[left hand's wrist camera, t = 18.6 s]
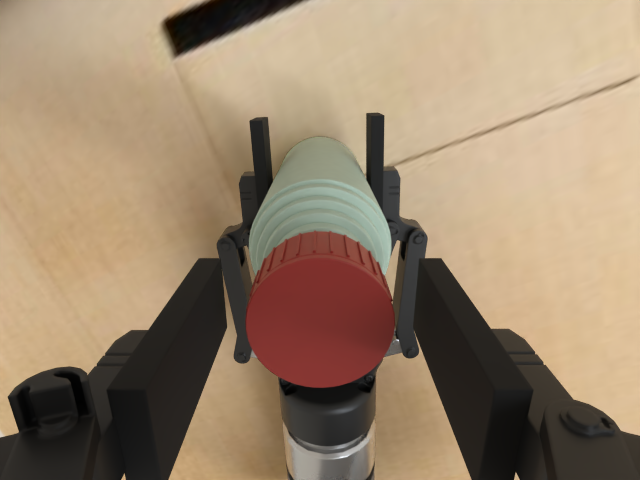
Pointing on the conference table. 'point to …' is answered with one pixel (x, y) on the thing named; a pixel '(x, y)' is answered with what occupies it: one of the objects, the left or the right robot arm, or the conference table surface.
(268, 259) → the cap
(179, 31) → the conference table surface
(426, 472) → the conference table surface
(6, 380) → the conference table surface
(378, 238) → the bottle
